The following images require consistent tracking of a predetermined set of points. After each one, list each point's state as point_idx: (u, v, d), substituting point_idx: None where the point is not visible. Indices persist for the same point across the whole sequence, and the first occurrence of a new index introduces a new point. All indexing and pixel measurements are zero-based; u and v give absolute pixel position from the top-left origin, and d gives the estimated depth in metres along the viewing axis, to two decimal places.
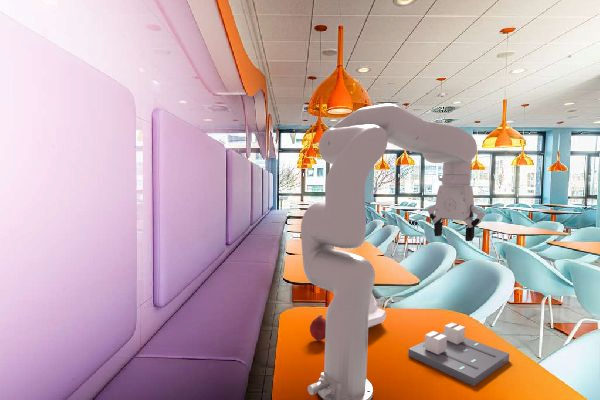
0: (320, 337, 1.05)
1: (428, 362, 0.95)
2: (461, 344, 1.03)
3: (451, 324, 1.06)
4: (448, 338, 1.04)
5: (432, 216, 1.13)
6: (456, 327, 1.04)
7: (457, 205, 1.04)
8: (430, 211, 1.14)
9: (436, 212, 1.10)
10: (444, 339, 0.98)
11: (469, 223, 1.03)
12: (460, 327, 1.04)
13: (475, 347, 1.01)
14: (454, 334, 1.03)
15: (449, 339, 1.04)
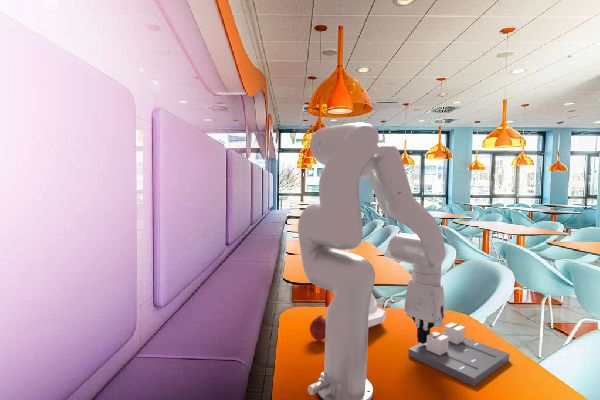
0: (320, 337, 1.05)
1: (428, 362, 0.95)
2: (461, 344, 1.03)
3: (451, 324, 1.06)
4: None
5: None
6: (456, 327, 1.04)
7: (426, 306, 0.97)
8: None
9: (405, 308, 1.03)
10: (446, 340, 0.97)
11: (426, 326, 0.99)
12: (460, 327, 1.04)
13: (475, 347, 1.01)
14: (454, 334, 1.03)
15: (449, 339, 1.04)
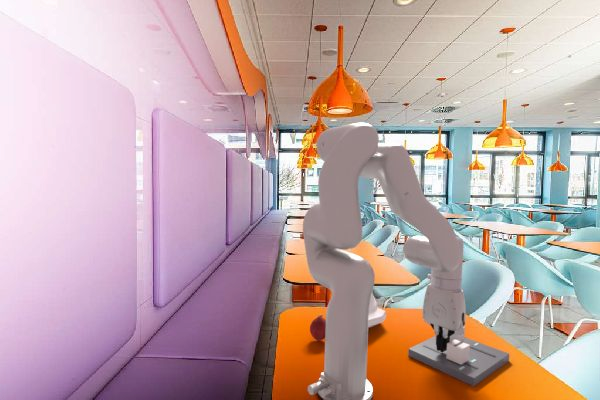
0: (320, 337, 1.05)
1: (428, 362, 0.95)
2: None
3: None
4: None
5: (434, 326, 0.98)
6: None
7: (447, 313, 0.93)
8: (428, 321, 0.99)
9: (424, 315, 0.98)
10: (467, 348, 0.93)
11: (446, 334, 0.95)
12: None
13: (475, 347, 1.01)
14: (454, 334, 1.03)
15: None
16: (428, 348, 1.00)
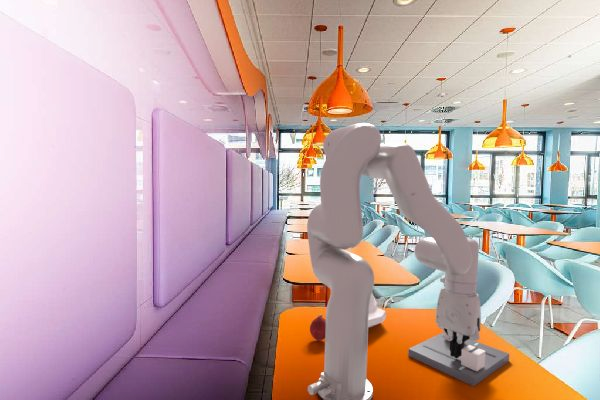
0: (320, 337, 1.05)
1: (428, 362, 0.95)
2: None
3: None
4: None
5: (447, 331, 0.95)
6: None
7: (461, 318, 0.90)
8: None
9: (437, 320, 0.95)
10: (483, 354, 0.90)
11: (460, 339, 0.92)
12: None
13: None
14: None
15: None
16: (428, 348, 1.00)
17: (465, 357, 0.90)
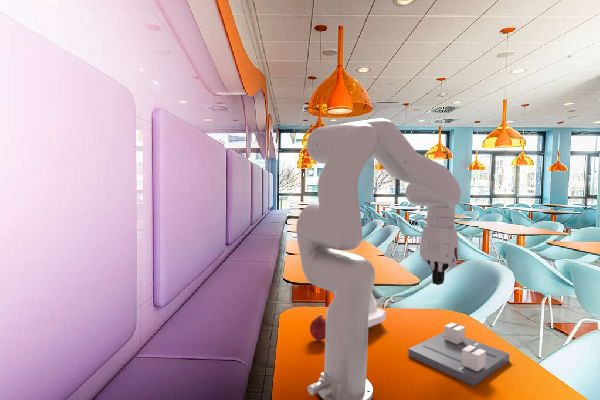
0: (320, 337, 1.05)
1: (428, 362, 0.95)
2: (461, 344, 1.03)
3: (451, 324, 1.06)
4: (448, 338, 1.04)
5: None
6: (456, 327, 1.04)
7: (441, 248, 1.03)
8: (425, 259, 1.10)
9: (421, 253, 1.08)
10: (483, 354, 0.90)
11: (440, 268, 1.05)
12: (460, 327, 1.04)
13: None
14: (454, 334, 1.03)
15: (449, 339, 1.04)
16: (428, 348, 1.00)
17: (465, 357, 0.90)
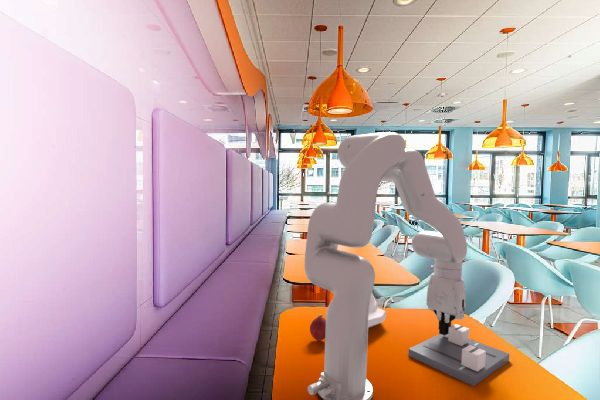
0: (320, 337, 1.05)
1: (428, 362, 0.95)
2: None
3: (455, 325, 1.05)
4: (452, 340, 1.03)
5: (436, 312, 1.08)
6: (460, 329, 1.03)
7: (448, 300, 1.03)
8: None
9: (427, 302, 1.08)
10: (483, 354, 0.90)
11: (447, 319, 1.05)
12: (464, 329, 1.03)
13: None
14: (459, 336, 1.02)
15: (453, 341, 1.03)
16: (428, 348, 1.00)
17: (465, 357, 0.90)
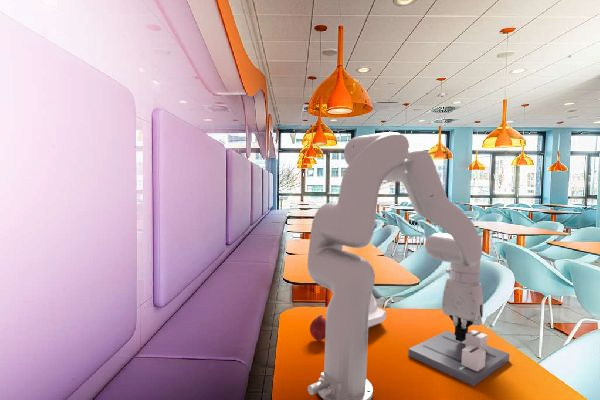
0: (320, 337, 1.05)
1: (428, 362, 0.95)
2: (461, 344, 1.03)
3: (472, 332, 1.01)
4: None
5: (452, 317, 1.04)
6: (478, 335, 0.99)
7: (466, 305, 0.99)
8: None
9: (443, 307, 1.04)
10: (483, 354, 0.90)
11: (464, 325, 1.01)
12: (482, 335, 0.99)
13: None
14: (477, 342, 0.98)
15: None
16: (428, 348, 1.00)
17: (465, 357, 0.90)
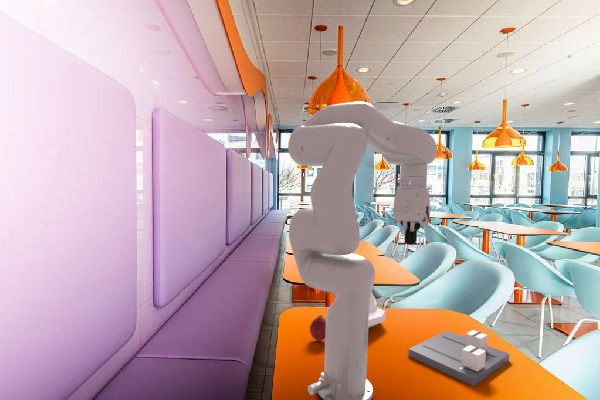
0: (320, 337, 1.05)
1: (428, 362, 0.95)
2: (461, 344, 1.03)
3: (472, 332, 1.01)
4: None
5: (403, 223, 1.10)
6: (478, 335, 0.99)
7: (413, 207, 1.04)
8: (399, 220, 1.11)
9: (394, 214, 1.10)
10: (483, 354, 0.90)
11: (412, 227, 1.06)
12: (482, 335, 0.99)
13: None
14: (477, 342, 0.98)
15: None
16: (428, 348, 1.00)
17: (465, 357, 0.90)
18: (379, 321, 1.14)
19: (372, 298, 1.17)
